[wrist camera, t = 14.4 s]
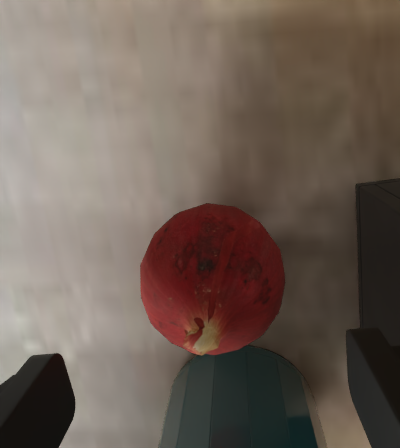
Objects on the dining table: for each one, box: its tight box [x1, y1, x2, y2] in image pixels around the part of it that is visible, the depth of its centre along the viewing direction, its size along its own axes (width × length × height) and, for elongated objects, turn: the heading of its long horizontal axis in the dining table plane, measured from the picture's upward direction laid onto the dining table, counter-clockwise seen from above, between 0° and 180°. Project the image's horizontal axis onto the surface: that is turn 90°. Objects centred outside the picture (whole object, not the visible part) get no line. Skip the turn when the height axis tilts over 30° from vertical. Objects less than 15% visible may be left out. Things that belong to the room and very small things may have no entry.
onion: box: [140, 203, 285, 356], centre depth 15 cm, size 6×6×8 cm
